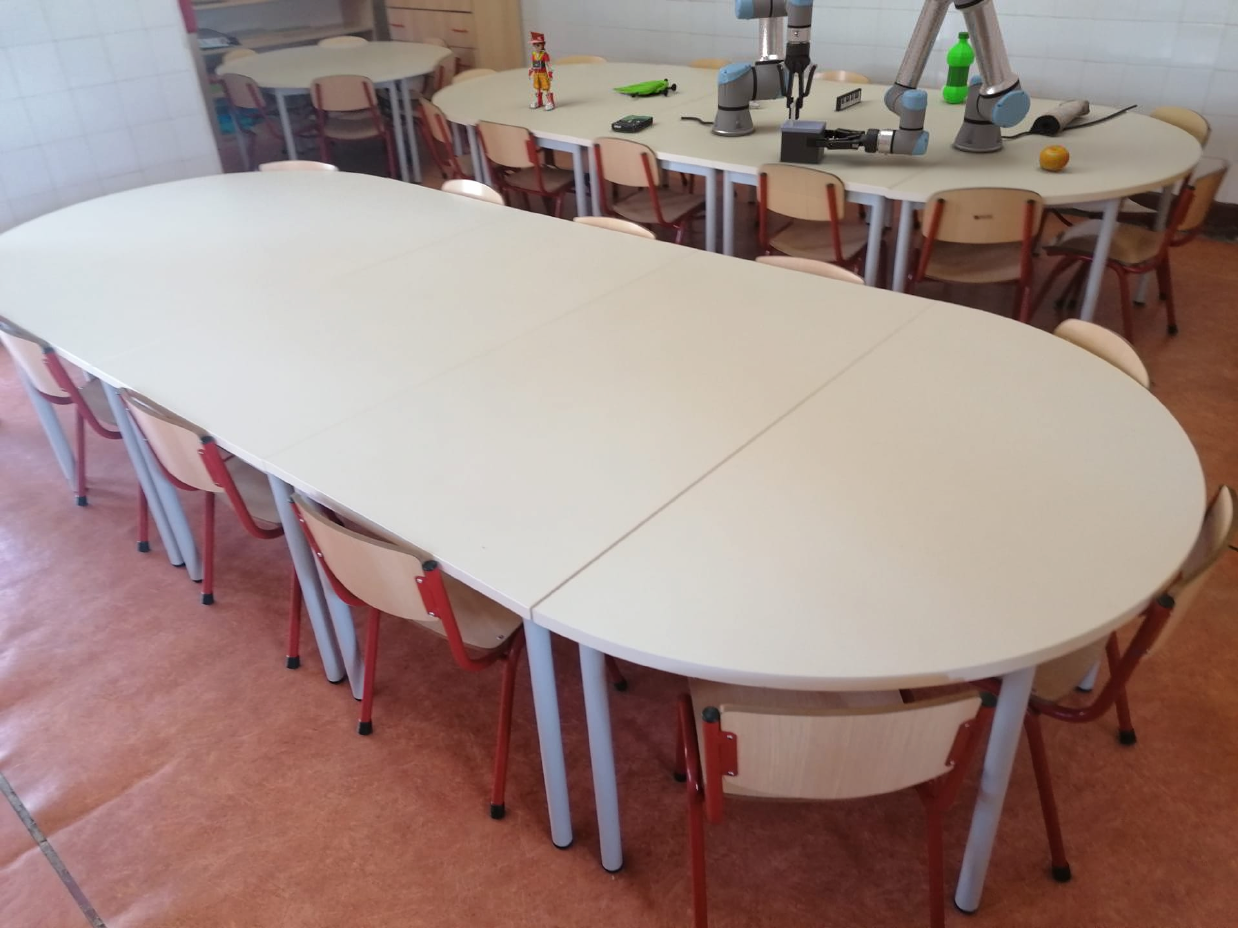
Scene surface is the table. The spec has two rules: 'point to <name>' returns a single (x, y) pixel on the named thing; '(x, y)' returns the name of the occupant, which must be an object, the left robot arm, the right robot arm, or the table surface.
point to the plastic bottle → (958, 70)
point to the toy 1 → (541, 71)
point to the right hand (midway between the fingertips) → (810, 137)
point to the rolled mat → (1060, 117)
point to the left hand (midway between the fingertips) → (793, 118)
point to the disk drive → (632, 123)
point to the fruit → (1054, 157)
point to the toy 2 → (648, 88)
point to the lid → (802, 124)
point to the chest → (800, 147)
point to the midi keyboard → (848, 99)
